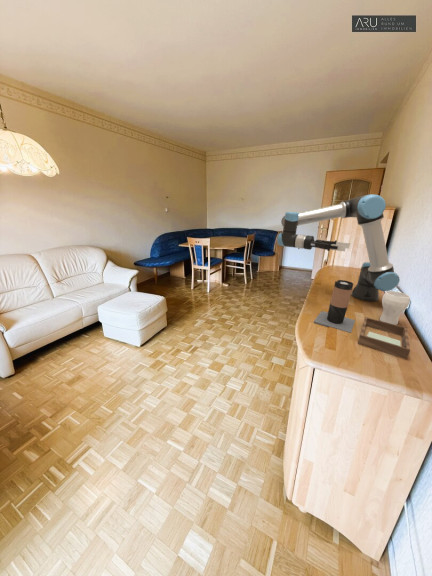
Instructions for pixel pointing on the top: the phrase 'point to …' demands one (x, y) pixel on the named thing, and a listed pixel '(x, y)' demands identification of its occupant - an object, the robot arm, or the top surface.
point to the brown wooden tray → (383, 345)
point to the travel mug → (339, 301)
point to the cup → (393, 306)
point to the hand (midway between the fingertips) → (347, 247)
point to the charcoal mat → (323, 321)
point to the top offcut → (384, 338)
